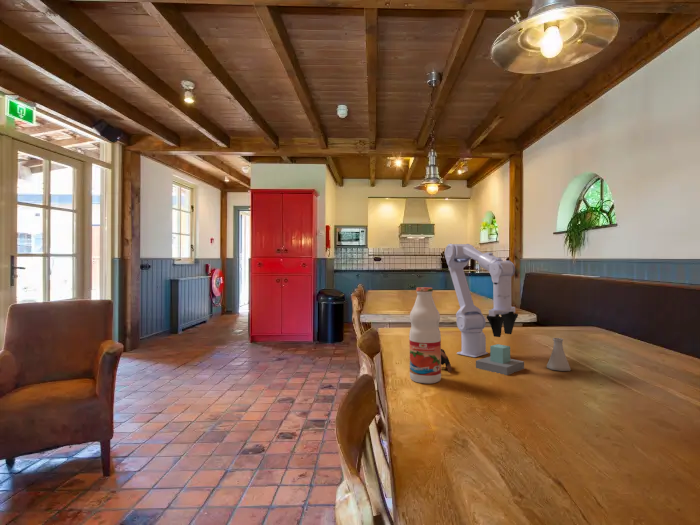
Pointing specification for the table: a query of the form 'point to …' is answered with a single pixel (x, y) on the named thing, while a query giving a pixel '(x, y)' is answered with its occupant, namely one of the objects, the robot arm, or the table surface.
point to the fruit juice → (425, 339)
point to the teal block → (500, 353)
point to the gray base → (500, 366)
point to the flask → (558, 357)
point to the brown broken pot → (445, 360)
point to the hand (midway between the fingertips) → (502, 335)
